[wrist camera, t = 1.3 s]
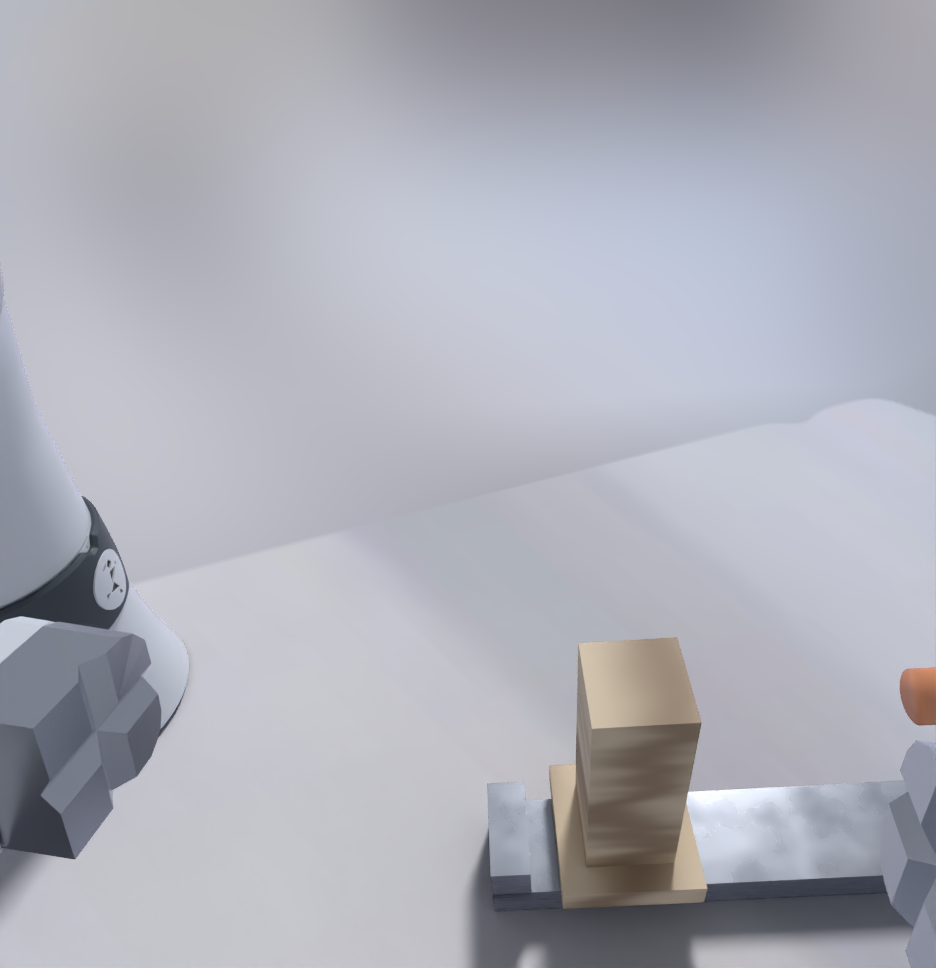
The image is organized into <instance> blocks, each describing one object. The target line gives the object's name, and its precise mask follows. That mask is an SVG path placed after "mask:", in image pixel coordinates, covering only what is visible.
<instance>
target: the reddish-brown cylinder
mask: <svg viewBox="0 0 936 968" xmlns="http://www.w3.org/2000/svg"><path fill="white" fill-rule="evenodd" d="M900 694H901V699H902V703H903V706H904V709H905V711H906V713H907V715H908V716H909V718H910V719H911V720H912V721H913V722H914V723H915V724H917V725H936V667H932V668H914V669H906V670H905V671H904V672H903V673H902V676H901V679H900Z"/></svg>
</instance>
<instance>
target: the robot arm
mask: <svg viewBox="0 0 936 968" xmlns="http://www.w3.org/2000/svg"><path fill="white" fill-rule="evenodd" d="M3 296H4V285H3V275H2V270H1V265H0V853H1V852H2V849H1V848H7V849H13V850H19V851H26V852H32V853H38V854H44V855H51V856H57V857H63V858H69V859H76V857H77V856H78V855H79V853H80V852H81V851H82V849H83V848H84V847H85V845H86V844H87V843H88V841H89V840H90V839H91V837H92V836H93V835H94V833H95V832H96V831H97V829H98V828H99V827H100V825H101V824H102V823H103V821H104V820H105V819H106V817H107V816H108V815H109V813H110V812H111V811H112V809H113V791H112V790H114V789H115V788H117V787H119V786H121V785H122V784H124V783H126V782H128V781H130V780H131V779H133V778H135V777H137V776H138V774H139V773H140V771H141V770H142V768H143V767H144V766H145V764H146V763H147V761H148V760H149V759H150V757H151V756H152V753H153V750H154V747H155V744H156V742H157V739H158V736H159V733H160V730H161V728H162V727H163V726H164V725H165V724H166V722H167V721H168V720H169V718H170V717H171V715H172V714H173V712H174V711H175V709H176V707H177V706H178V704H179V702H180V700H181V698H182V695H183V693H184V690H185V687H186V684H187V680H188V674H189V658H188V653H187V650H186V647H185V645H184V643H183V641H182V640H181V638H180V637H179V636H178V635H177V634H176V633H175V631H173V630H172V629H171V628H170V627H169V626H168V625H167V624H165V623H164V622H163V621H162V620H161V619H160V618H159V617H158V616H157V615H156V613H155V612H154V611H153V610H152V609H151V608H150V607H149V606H148V604H147V603H146V602H145V601H144V600H143V598H142V597H141V596H140V594H139V593H138V592H137V590H136V589H135V588H134V586H133V585H132V584H131V582H130V581H129V580H128V578H127V575H126V572H125V568H124V565H123V563H122V560H121V557H120V555H119V552H118V550H117V548H116V545H115V543H114V542H113V540H112V538H111V536H110V534H109V532H108V530H107V528H106V526H105V524H104V523H103V521H102V519H101V517H100V515H99V514H98V512H97V510H96V508H95V507H94V505H93V504H92V503H91V502H90V501H89V500H88V499H86V498H85V497H83V496H81V494H80V492H79V490H78V488H77V486H76V484H75V482H74V480H73V478H72V476H71V474H70V472H69V470H68V468H67V466H66V464H65V462H64V460H63V458H62V456H61V454H60V452H59V450H58V448H57V447H56V444H55V443H54V440H53V438H52V437H51V434H50V432H49V430H48V428H47V426H46V424H45V423H44V420H43V418H42V416H41V413H40V411H39V409H38V407H37V404H36V402H35V400H34V397H33V394H32V391H31V388H30V385H29V382H28V379H27V375H26V372H25V368H24V365H23V361H22V357H21V353H20V349H19V346H18V342H17V339H16V335H15V332H14V329H13V325H12V322H11V319H10V316H9V313H8V310H7V307H6V304H5V301H4V299H3ZM900 771H901V774H902V777H903V779H904V782H905V785H906V787H907V790H908V792H906V793H905V794H903V795H901V796H900V797H898V798H897V799H895V800H893V801H892V802H890V803H889V804H888V807H887V811H886V814H885V817H884V821H883V824H882V828H881V848H880V859H881V866H882V872H883V879H884V883H885V886H886V890H887V893H888V896H889V900H890V903H891V905H892V906H893V908H894V909H895V910H896V911H897V912H898V913H899V914H900V915H901V916H902V917H903V918H904V919H905V920H906V921H907V922H908V923H909V924H910V925H911V926H912V927H913V928H914V929H913V932H912V935H911V937H910V940H909V942H908V945H907V947H906V950H905V951H906V954H907V957H908V960H909V964H910V967H911V968H936V743H932V742H924V741H917V740H916V741H915V742H914V744H913V745H912V746H911V747H910V748H909V749H908V750H907V753H906V755H905V758H904V761H903V763H902V766H901V769H900Z"/></svg>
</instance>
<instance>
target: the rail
mask: <svg viewBox="0 0 936 968" xmlns="http://www.w3.org/2000/svg"><path fill="white" fill-rule="evenodd" d="M487 791H488V819H489V847H490V874H491V884H492V892H493V900H494V908H495V911H508V910H529V909H550V908H563V904H562V895H561V885H560V875H559V866H558V856H557V847H556V837H555V827H554V818H553V808H552V799H547V800H528V801H525V793H524V782H507V783H489V784H487ZM906 792H908V790H907V787H906V785H905V782H904V781H886V782H868V783H849V784H830V785H811V786H792V787H773V788H754V789H735V790H717V791H698V792H688V796H687V801H686V804H687V808H688V812H689V816H690V820H691V824H692V828H693V832H694V836H695V840H696V844H697V849H698V853H699V857H700V861H701V865H702V869H703V873H704V877H705V881H706V885H707V892H706V896H705V900H704V901H717V900H738V899H759V898H780V897H801V896H822V895H843V894H863V893H884V892H887V890H886V886H885V883H884V879H883V872H882V866H881V859H880V848H881V828H882V824H883V821H884V817H885V814H886V811H887V807H888V804H889V803H890V802H892V801H893V800H895V799H897V798H898V797H900V796H901V795H903V794H905V793H906Z"/></svg>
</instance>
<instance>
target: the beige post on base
mask: <svg viewBox="0 0 936 968" xmlns="http://www.w3.org/2000/svg"><path fill="white" fill-rule="evenodd" d="M700 728H701V719H700V716H699V712H698V709H697V705H696V702H695V698H694V695H693V691H692V688H691V684H690V681H689V677H688V674H687V670H686V667H685V663H684V660H683V656H682V653H681V649H680V646H679V642H678V639H677V637H675V638H659V639H642V640H625V641H609V642H592V643H578V686H577V735H576V764H569V765H550V766H549V775H550V789H551V798H552V808H553V818H554V827H555V837H556V847H557V856H558V866H559V875H560V885H561V895H562V904H563V909H573V908H594V907H615V906H636V905H657V904H678V903H699V902H704V900H705V896H706V892H707V885H706V881H705V877H704V873H703V869H702V865H701V861H700V857H699V853H698V849H697V844H696V840H695V836H694V832H693V828H692V824H691V820H690V816H689V812H688V808H687V804H686V801H687V796H688V790H689V785H690V780H691V775H692V769H693V764H694V759H695V754H696V749H697V743H698V738H699V733H700Z"/></svg>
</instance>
